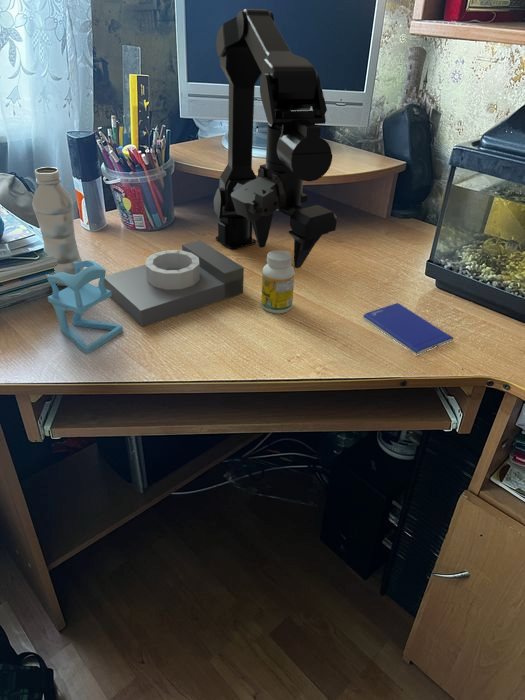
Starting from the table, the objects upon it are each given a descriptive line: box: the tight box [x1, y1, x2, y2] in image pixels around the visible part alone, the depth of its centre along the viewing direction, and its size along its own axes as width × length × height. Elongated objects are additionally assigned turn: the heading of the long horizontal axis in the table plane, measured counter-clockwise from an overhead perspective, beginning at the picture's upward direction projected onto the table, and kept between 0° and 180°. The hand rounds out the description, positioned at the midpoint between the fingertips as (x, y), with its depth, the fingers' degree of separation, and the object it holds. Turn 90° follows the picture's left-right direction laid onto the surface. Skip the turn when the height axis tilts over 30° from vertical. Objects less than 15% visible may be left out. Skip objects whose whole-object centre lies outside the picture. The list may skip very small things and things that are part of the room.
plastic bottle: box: [31, 166, 85, 287], centre depth 93 cm, size 6×7×20 cm
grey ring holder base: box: [104, 239, 245, 328], centre depth 95 cm, size 20×14×6 cm
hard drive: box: [362, 302, 454, 355], centre depth 90 cm, size 2×8×12 cm
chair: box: [45, 259, 124, 354], centre depth 82 cm, size 8×8×12 cm
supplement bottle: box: [260, 249, 296, 314], centre depth 92 cm, size 5×5×10 cm
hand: (279, 256), depth 89 cm, fingers open, 9 cm apart
